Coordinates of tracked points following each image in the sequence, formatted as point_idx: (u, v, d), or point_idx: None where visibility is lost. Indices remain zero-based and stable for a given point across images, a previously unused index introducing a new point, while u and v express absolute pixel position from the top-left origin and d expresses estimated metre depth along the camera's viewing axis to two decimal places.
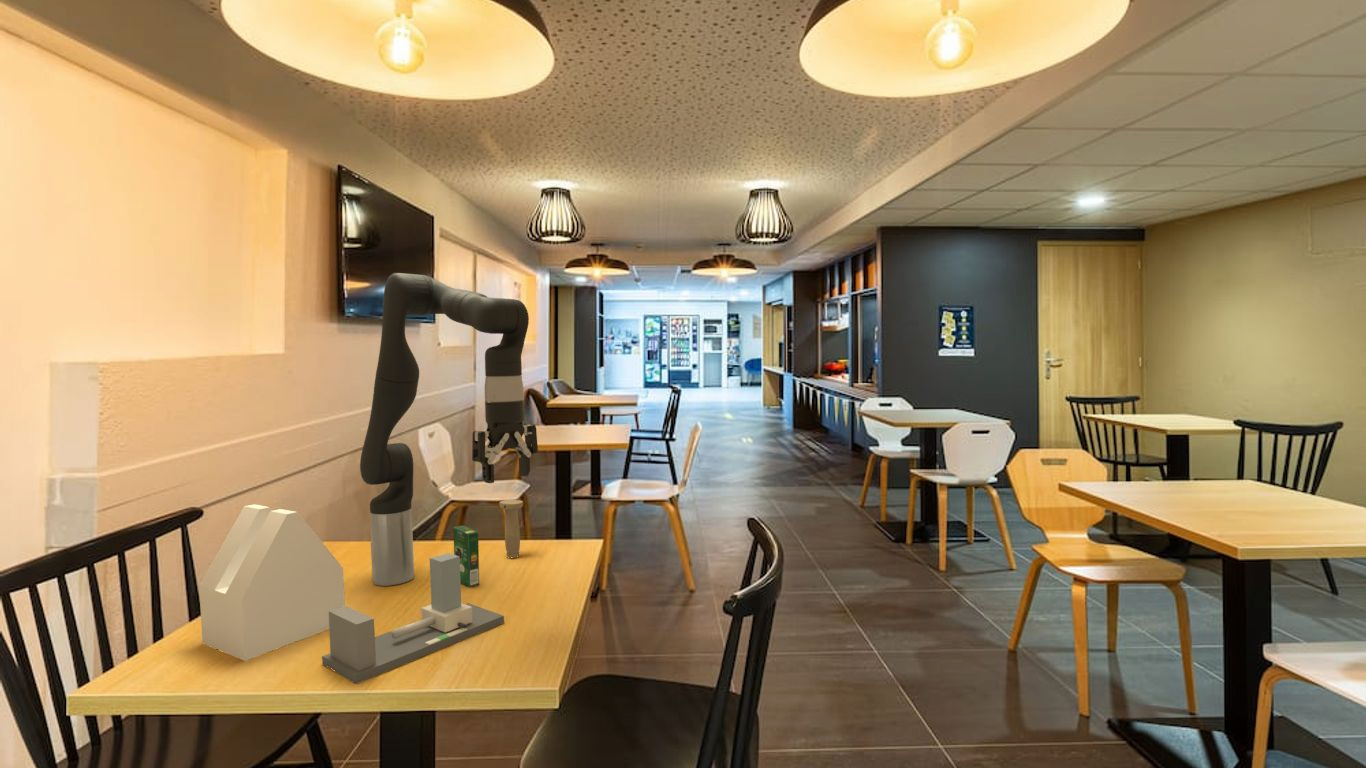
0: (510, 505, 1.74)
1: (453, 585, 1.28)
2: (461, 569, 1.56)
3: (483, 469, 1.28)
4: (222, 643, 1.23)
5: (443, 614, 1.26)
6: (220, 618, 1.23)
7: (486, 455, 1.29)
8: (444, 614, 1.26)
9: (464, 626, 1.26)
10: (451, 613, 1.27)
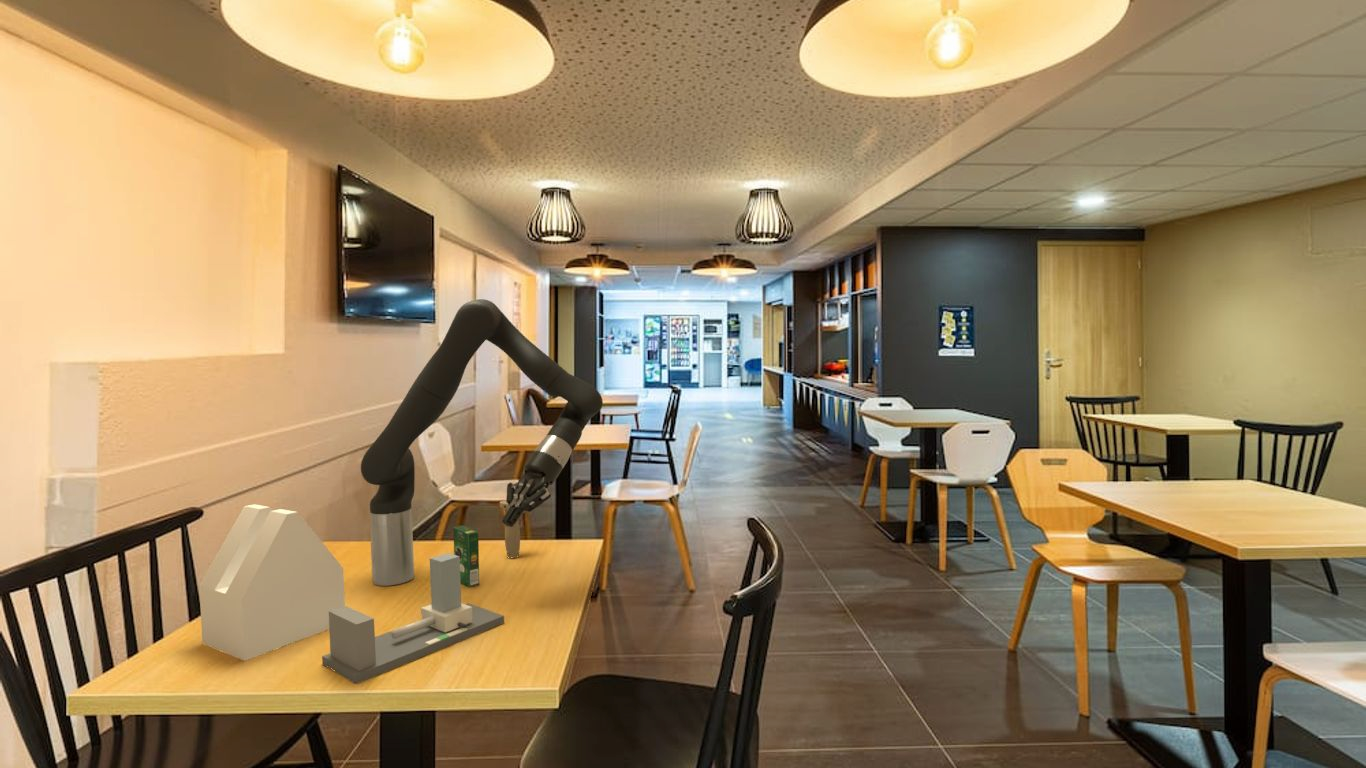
0: None
1: (453, 585, 1.28)
2: (461, 569, 1.56)
3: (516, 513, 1.41)
4: (222, 643, 1.23)
5: (443, 614, 1.26)
6: (220, 618, 1.23)
7: None
8: (444, 614, 1.26)
9: (464, 626, 1.26)
10: (451, 613, 1.27)
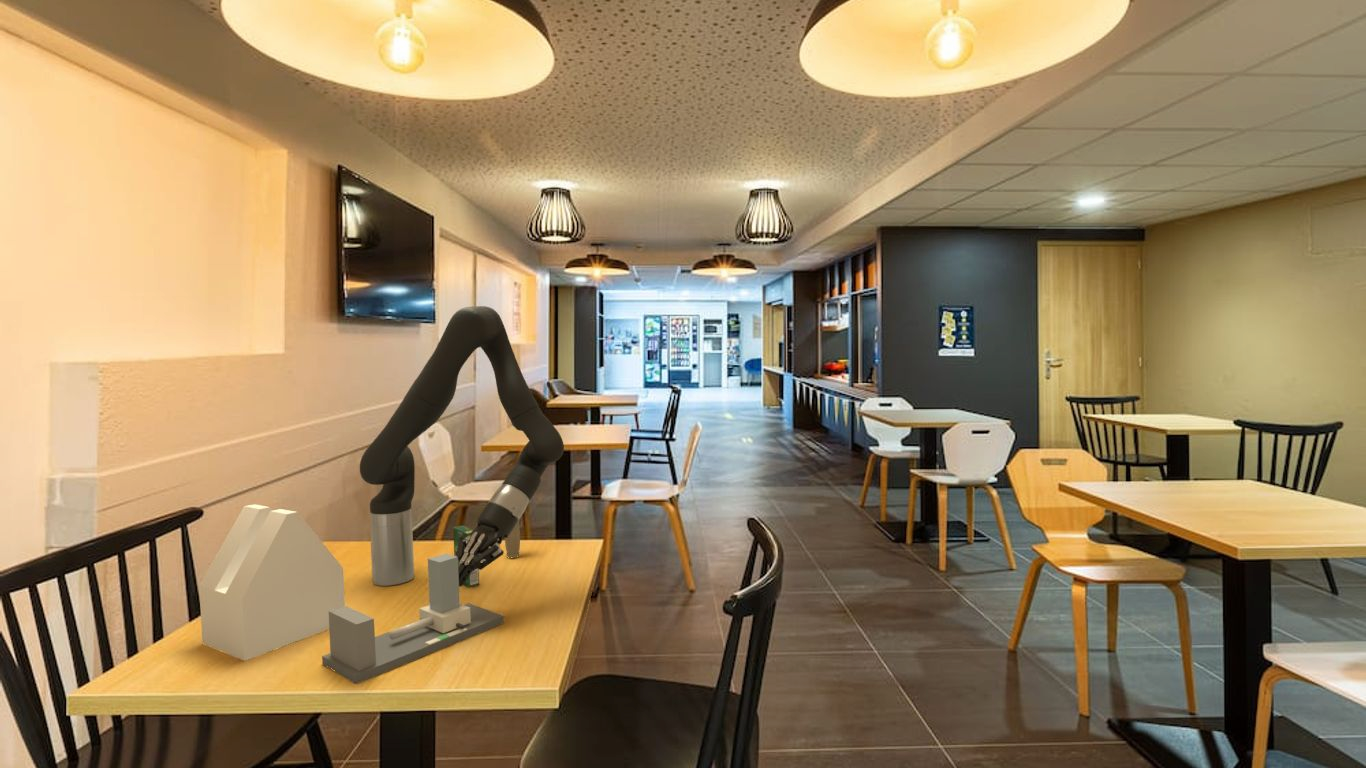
0: None
1: (451, 586, 1.28)
2: None
3: (466, 572, 1.32)
4: (222, 643, 1.23)
5: (441, 615, 1.26)
6: (220, 618, 1.23)
7: None
8: (442, 615, 1.26)
9: (462, 627, 1.26)
10: (449, 613, 1.26)
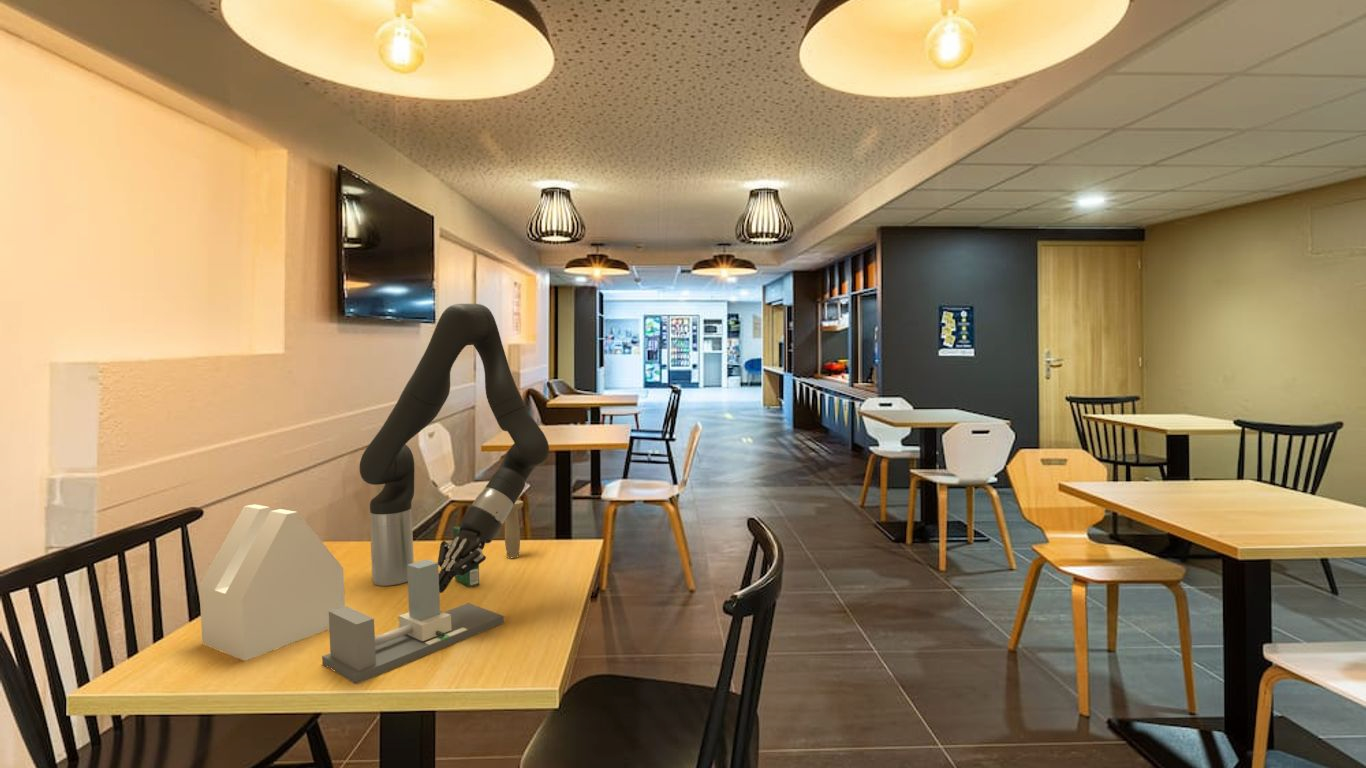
0: None
1: (431, 592, 1.25)
2: None
3: (447, 578, 1.28)
4: (222, 643, 1.23)
5: (420, 622, 1.22)
6: (220, 618, 1.23)
7: None
8: (421, 623, 1.22)
9: (442, 635, 1.22)
10: (429, 621, 1.23)
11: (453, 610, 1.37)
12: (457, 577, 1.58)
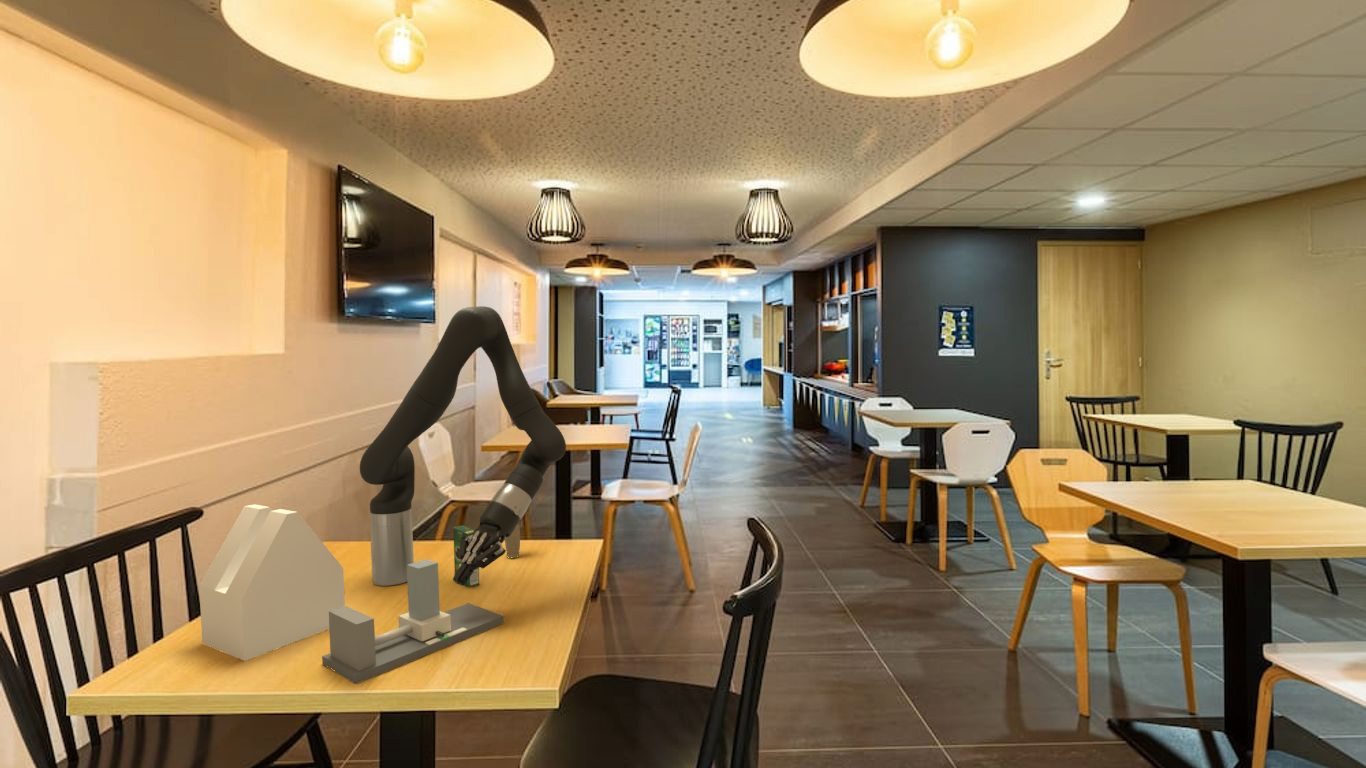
0: None
1: (431, 593, 1.25)
2: None
3: (468, 571, 1.32)
4: (222, 643, 1.23)
5: (420, 622, 1.22)
6: (220, 618, 1.23)
7: None
8: (421, 623, 1.22)
9: (442, 635, 1.22)
10: (428, 621, 1.23)
11: (453, 610, 1.37)
12: None
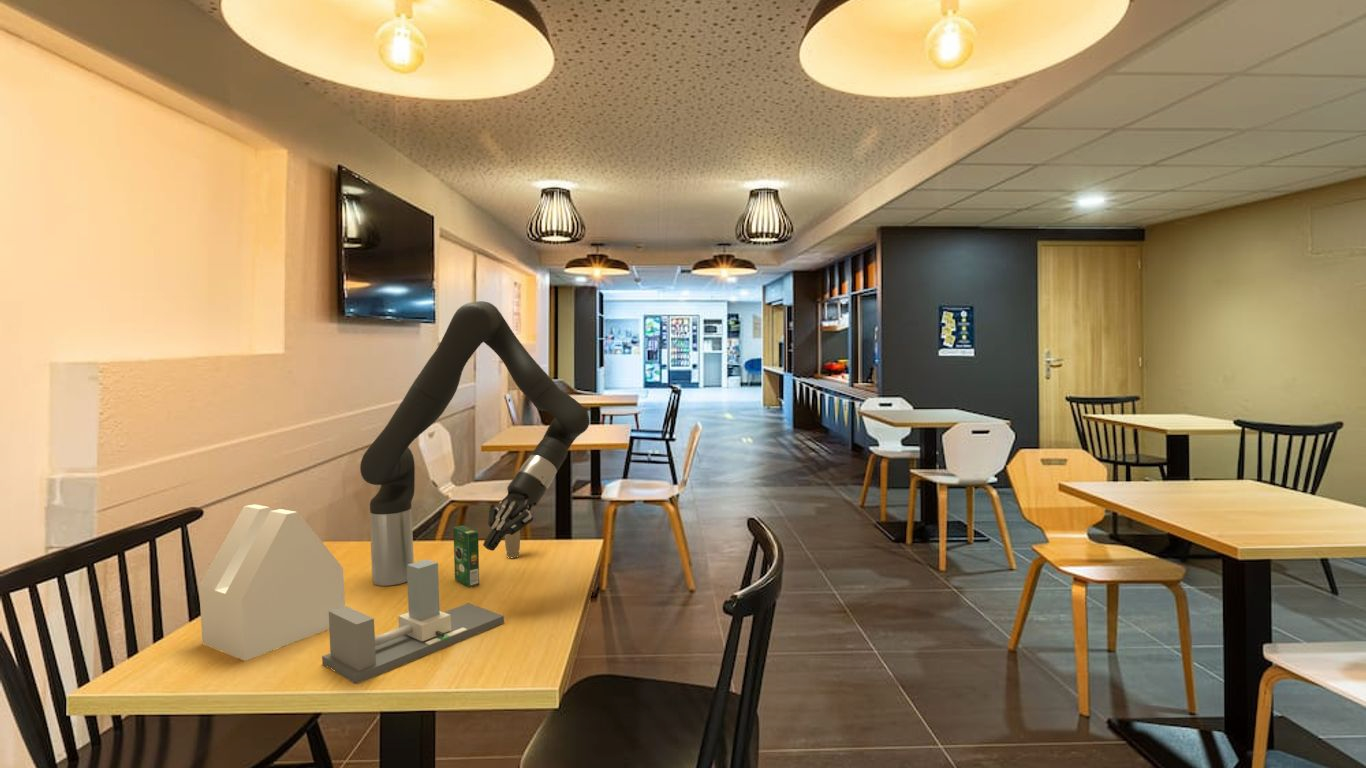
0: None
1: (431, 593, 1.25)
2: (461, 569, 1.56)
3: (498, 537, 1.37)
4: (222, 643, 1.23)
5: (420, 622, 1.22)
6: (220, 618, 1.23)
7: None
8: (421, 623, 1.22)
9: (442, 635, 1.22)
10: (428, 621, 1.23)
11: (453, 610, 1.37)
12: (457, 577, 1.58)
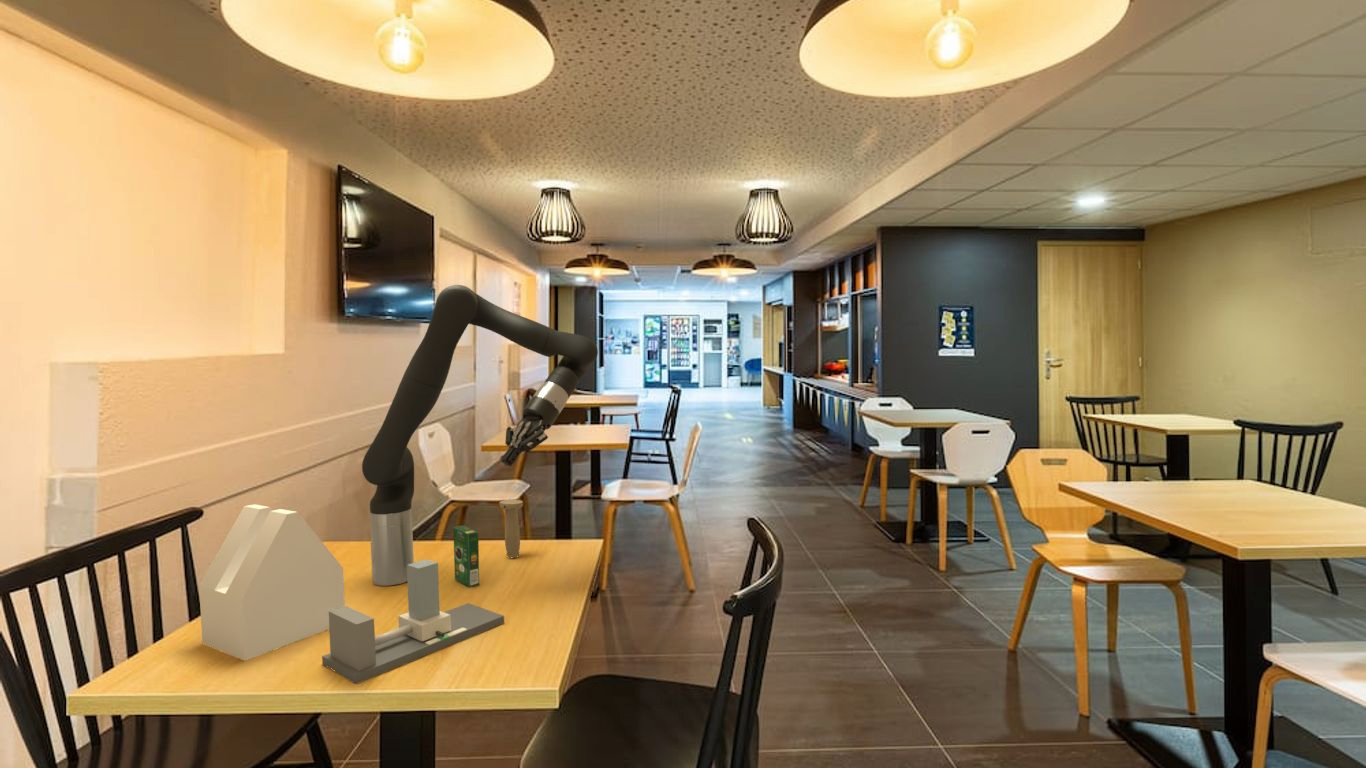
0: (510, 505, 1.74)
1: (431, 593, 1.25)
2: (461, 569, 1.56)
3: (515, 453, 1.48)
4: (222, 643, 1.23)
5: (420, 622, 1.22)
6: (220, 618, 1.23)
7: None
8: (421, 623, 1.22)
9: (442, 635, 1.22)
10: (428, 621, 1.23)
11: (453, 610, 1.37)
12: (457, 577, 1.58)
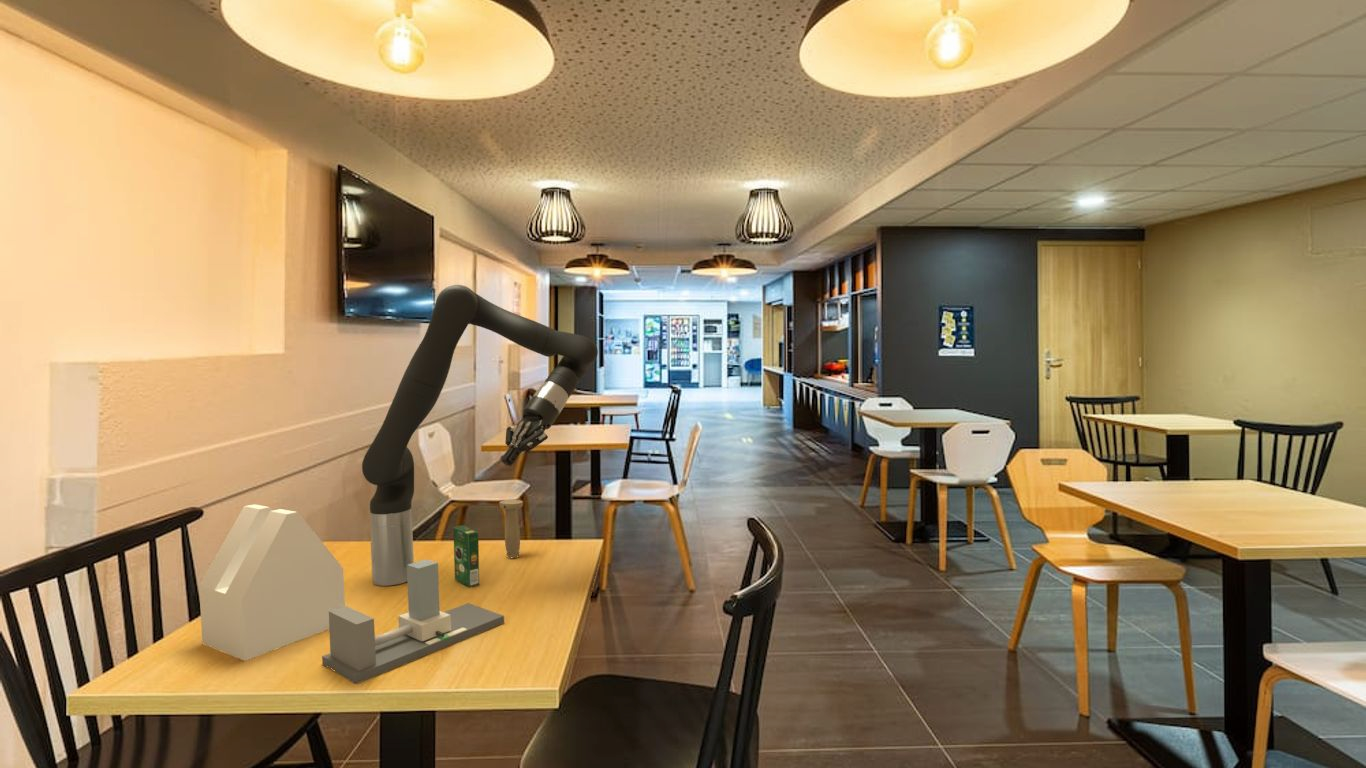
0: (510, 505, 1.74)
1: (431, 593, 1.25)
2: (461, 569, 1.56)
3: (515, 453, 1.48)
4: (222, 643, 1.23)
5: (420, 622, 1.22)
6: (220, 618, 1.23)
7: None
8: (421, 623, 1.22)
9: (442, 635, 1.22)
10: (428, 621, 1.23)
11: (453, 610, 1.37)
12: (457, 577, 1.58)
